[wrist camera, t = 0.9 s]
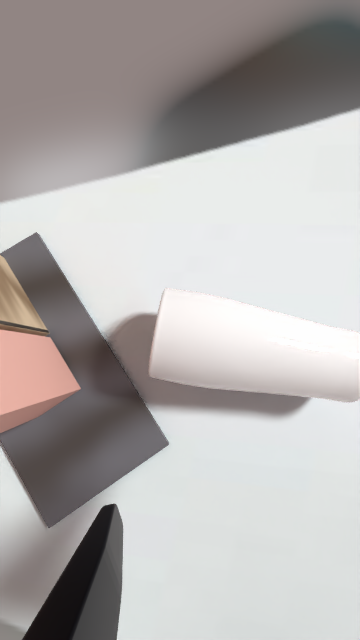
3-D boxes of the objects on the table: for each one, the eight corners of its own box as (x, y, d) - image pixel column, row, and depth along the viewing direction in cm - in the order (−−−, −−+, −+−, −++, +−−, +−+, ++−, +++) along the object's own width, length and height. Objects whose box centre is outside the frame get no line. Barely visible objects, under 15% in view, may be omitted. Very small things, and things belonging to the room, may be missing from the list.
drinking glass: (394, 419, 16) (144, 375, 16) (326, 410, 23) (149, 379, 22) (390, 311, 18) (165, 270, 17) (328, 332, 24) (164, 302, 24)
